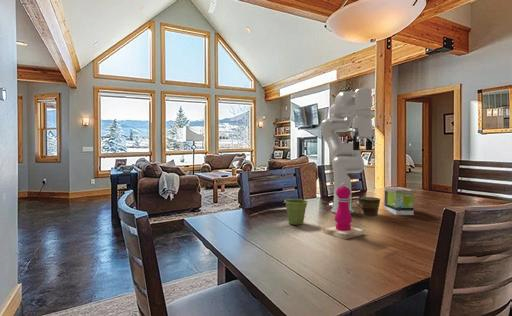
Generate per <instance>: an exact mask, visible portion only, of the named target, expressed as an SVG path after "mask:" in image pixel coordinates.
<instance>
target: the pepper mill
mask: <svg viewBox="0 0 512 316" xmlns="http://www.w3.org/2000/svg"><path fill="white" fill-rule="evenodd" d="M341 186H342V187H339V188H338V189H337V190H336V195H337V196H338V198H337V199H338V200H337V201H338V209H337V212H336V213H335V215H334V221H335V223H336V224H335V225H336V229H338V230H343V231H348V230H351V227H352V225H351V223H352V221H353V217H352V213H350V211H349V208H348V202H349V198H348V197H349V196H350V189H349V188H347V187H345V183H342V184H341Z"/></svg>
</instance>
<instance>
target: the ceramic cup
mask: <svg viewBox="0 0 512 316" xmlns="http://www.w3.org/2000/svg"><path fill="white" fill-rule="evenodd" d="M357 201H359V202H360V204H361V205H359V204H358V203H357ZM354 203H355V204H356V205H357V206H358V207H359V208H360V209H361V211H362V214H363V215H364V216H366V217H377V216H378V213H379V207H380V203H381V198H379V197H374V196H372V197H371V196H369V197H368V196H362V197H360V198H359V199H356V200H355V202H354Z"/></svg>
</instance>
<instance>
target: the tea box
mask: <svg viewBox="0 0 512 316" xmlns="http://www.w3.org/2000/svg"><path fill="white" fill-rule="evenodd" d="M414 206H415V190H413V189H409V188H405V187H396V186H395V187H394V186H392V187H391V186H389V187H387V186H386V187H384V210H386V211H387V212H390V213H391V214H393V215H395V216H414V212H415V211H414V209H415V207H414Z"/></svg>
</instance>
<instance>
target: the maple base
mask: <svg viewBox="0 0 512 316" xmlns="http://www.w3.org/2000/svg"><path fill="white" fill-rule="evenodd" d="M322 233H324V234H327V235H329V236H334V237H336V238H340V239H344V240H348V239H351V238H352V239H353V238H356V237H359V236H363V235H365V229H362V228H358V227H354V226H351V230H348V231H343V230H338V229H336V224H335V225H331V226H326V227H323V231H322Z"/></svg>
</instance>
